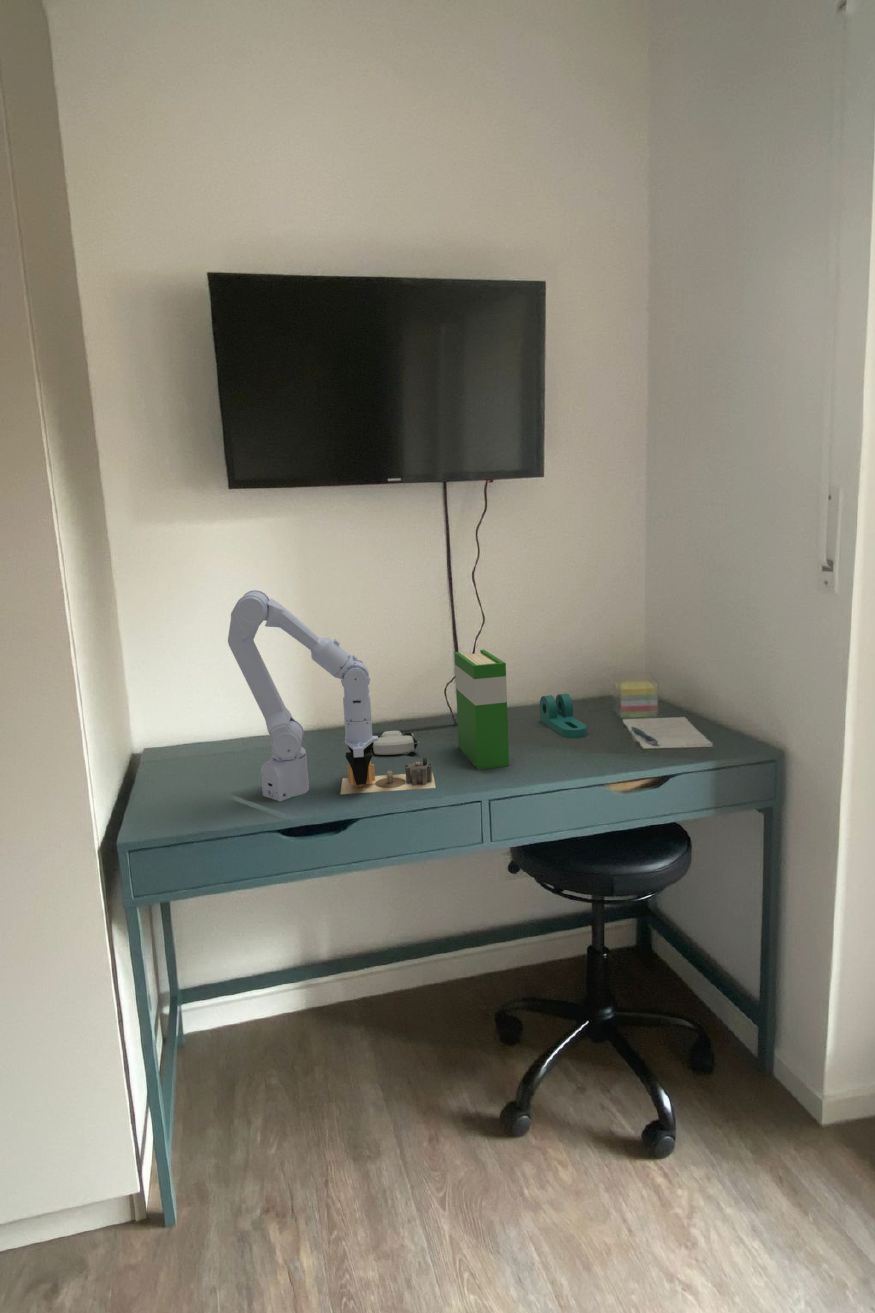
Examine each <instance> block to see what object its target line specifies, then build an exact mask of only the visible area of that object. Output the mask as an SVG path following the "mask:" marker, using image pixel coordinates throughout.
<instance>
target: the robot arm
mask: <svg viewBox="0 0 875 1313" xmlns="http://www.w3.org/2000/svg"><path fill="white" fill-rule="evenodd" d="M264 621H265V625H264V627H266V628H268V627H270V628H279V629H281V630H283V632H286V633H287V634H288V635H289V636H290V637H292V638H293V639H295V640H296V641H297V642H299V643H300V644H301V645H303V646H305V647H306V648H307V649H309V651H310V653H311V654H310V656H311V660H312V661H314V662H315V663H316V664H318V665H319V666H320V667H321V668H322V669H323V670H325V671H326V672H327V673H329V674H330V675H331V676H332V677H333V678H335V679H336V678H337V679H339V680H340V683H341V686H342V687H343V698H342V703H343V716H344V732H345V737H344V743H345V744H346V745H347V748H348V749H349V751H350V752H345V759H346V760H347V762H348V764H349V766H351V768H352V771H353V775H354V779H355V782H356V785H365V784H366V782H367V776H368V767H369V763H370V762H371V760H372V758H373V755H374V752H372V751H371V748H372V746H373V742H374V741H378V736H379V735H378V736H373V723H372V720H373V719H372V707H371V706H372V705H371V696H370V687H369V685H370V682H371V677H370V674H369V669H368V667H367V665H366V664H365V663H364V661H363V660H360V659H358V657H357V656H356V655H355V654H352V655H351V654H350V653H349V652H348V651H346V650H345V649H344V648H343V647H341V646H340V643H341V642H340V641H339V640H337V639H334V640H333V639H331V638H330V637H322V638H321V637H319V636H318V635H317V634H316V633H315V632H314V631H312V629H311V628H309V627H308V626H307V625H305V624H304V623H303V622H302V621H301V620H300V619H299V618H298V617H296V616H295V615H294V614H293V613H291V612H290V611H289V610H288V609H287V608H286V607H284V606H283V604H280V603H279V602H278V601H276V600H275V599H274V598H271V597H270V598H269V596H268V595H267V593H265V592H263V591H262V590H259V589H258V590H257V589H254V590H249V591H248V592H246V593H244V594H243V596H242V597H240V598H239V599H238V600H237V602H236V603H235V605H234V607H233V608H232V611H231V613H230V623H229V630H228V635H227V636H228V637H227V644H228V647H229V648H230V651H231V654H232V655H233V656H234V659H235V661H236V663H237V664H238V667H239V669H240V671H241V673H242V675H243V677H244V679H245V681H246V683H247V686H248V687H249V689H250V691H251V694H252V695H253V698H254V700H255V702H256V704H257V706H258V708H259V710H260V711H261V714H262V716H263V718H264V721H265V725H266V730H267V733H268V734H269V737H270V748H271V751H272V752H271V757H270V759H269V760H268V761H266V762H264V763H263V764H262V765H261V768H260V778H261V779H260V780H261V791H262V792H261V793H262V796H263V797H266V798H269V799H272V800H273V801H274V800H275V801H278V802H283V801H285V800H288V799H291V798H293V797H294V798H295V797H298V796H301V795H305V794H306V793H307V792H309V790H310V782H309V773H308V762H307V760H308V759H307V750H306V749H305V748H304V747H303V746H302V745H303V744H302V742H303V739H304V735H305V732H304V728H303V726H302V724H301V723H300V722H299V721H298V720H296V719H295V718H294V717H293V716H292V713H291V711H290V710H289V709H288V708H287V707H286V704H285V703H284V701H283V699H282V697H281V695H280V693H279V691H278V690H279V689H278V688H277V687H276V685H275V682H274V680H273V678H272V677H271V676H272V675H271V674H270V671H269V670H268V668H267V666H266V663H265V662H264V659H263V658H262V656H261V654H260V651H259V649H258V647H257V645H256V643H255V641H254V639H255V637H256V635H257V632H258V630H259V627H260V626H261V625H262V623H263V622H264Z"/></svg>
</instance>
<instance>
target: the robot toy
mask: <svg viewBox="0 0 875 1313" xmlns="http://www.w3.org/2000/svg"><path fill="white" fill-rule="evenodd" d="M372 736H378V741H374V742H373V746H372V748H371V751H370V752H371V753H372V752H373V754H375V755H380V756H388V755H389V756H391V755H403V756H408V755H409V754H410V753H411V752H412V753H413V752H414V750H416V748H417V747H418V746H419V745H420V741H418V740H417V739H416V738H415V737H414V733H412V732H409V731H408V732H405V733H404V734H402V732H401V731H400V730H387V731H383V733H382V734H381V735H377V734H372Z"/></svg>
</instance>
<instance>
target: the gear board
mask: <svg viewBox="0 0 875 1313" xmlns="http://www.w3.org/2000/svg"><path fill="white" fill-rule="evenodd" d="M404 770H405V773H400V774H393V771H392V770H387V771H386V774H385V775H384V774H383V775H375V781H372V783H371V784H365V785H362V786H360V785H356V784H355V785H351V782H348V777H343V778H342V780H341V787H340V795H353V794H365V793H366V794H367V793H381V792H394V791H396V792H397V791H412V790H424V789H436V788H437V787H436V783H435V777H434V776H435V775H434V772H433V771H432V763H431V762H428V758H427V756H424V757H422V760H420V761H410V763H406V764H405V765H404Z"/></svg>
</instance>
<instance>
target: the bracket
mask: <svg viewBox="0 0 875 1313" xmlns="http://www.w3.org/2000/svg"><path fill="white" fill-rule="evenodd" d="M571 697H572V696H570V695H569V693H558V694H557V695H556V697H554V696H553V695H552V694H551V695H542V696H541V697H540V700H539V721H540V723H543V725H545V726H547V728H549V729H550V730H552V731H553V732H555V733H557V734H558V735H560V736H561V737H563V738H567V739H579V738H584V737H586V736H587V734H588V727H587V726H588V725H587V724H585V723H583V722H582V721H580V720H578V719H577V718H575V717H574V705H573V700H572V698H571Z"/></svg>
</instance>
